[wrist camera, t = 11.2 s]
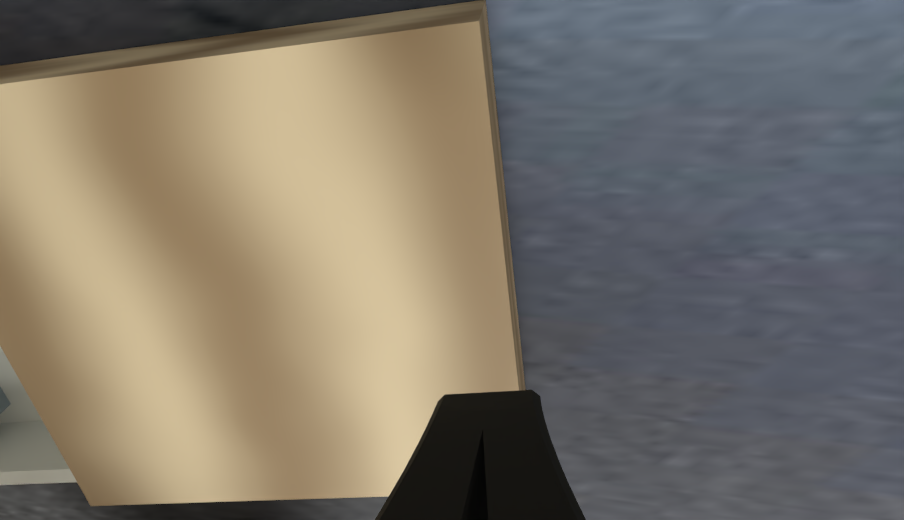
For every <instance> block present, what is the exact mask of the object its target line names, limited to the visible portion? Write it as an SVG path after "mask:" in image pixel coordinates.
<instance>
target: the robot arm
mask: <svg viewBox="0 0 904 520" xmlns="http://www.w3.org/2000/svg"><path fill="white" fill-rule="evenodd" d="M375 520H585V517H584V515H583V513H582V511H581V509H580V507H579V505H578V503H577V501H576V498H575V496H574V494H573V492H572V490H571V488H570V486H569V484H568V481H567V479H566V477H565V474H564V472H563V470H562V467H561V465H560V463H559V460H558V457H557V455H556V452H555V449H554V447H553V444H552V442H551V439H550V436H549V433H548V430H547V426H546V423H545V419H544V415H543V411H542V406H541V399H540V396H539V395H538V394H537V393H535V392H534V391H533V390H519V391H500V392H482V393H463V394H445V395H444V396H443V397H442V398H441V399H440V400H439V401H438V402H437V405H436V407H435V409H434V411H433V414H432V416H431V418H430V420H429V422H428V424H427V427H426V429H425V431H424V433H423V435H422V437H421V439H420V441H419V443H418V445H417V447H416V448H415V450H414V452H413V454H412V456H411V458H410V460H409V462H408V464H407V465H406V467H405V469H404V471H403V473H402V474H401V476H400V478H399V480H398V481H397V483H396V485H395V487H394V488H393V490H392V492H391V493H390V495H389V497H388V499H387V500H386V502H385V504H384V505H383V507H382V509H381V511H380V512H379V514H378V516H377V517H376V519H375Z"/></svg>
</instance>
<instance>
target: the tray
mask: <svg viewBox="0 0 904 520" xmlns="http://www.w3.org/2000/svg"><path fill="white" fill-rule="evenodd" d="M0 387H1V388H2V390H3V392H4V393H5V395H6V397H7V398H8V400H9V402H10V403H11V404H10V405H9V406H8V407H7V408H6V409H5V410H4V411H3V412H2V413H1V414H0V485H15V484H41V483H67V482H77V481H76V479H75V477H74V476H73V474H72V472H71V470H70V469H69V467H68V465H67V463H66V462H65V460H64V458H63V456H62V454H61V453H60V451H59V449H58V447H57V446H56V444H55V442H54V440H53V438H52V437H51V435H50V433H49V431H48V430H47V428H46V426H45V424H44V423H43V421H42V419H41V417H40V415H39V414H38V412H37V410H36V408H35V407H34V405H33V403H32V401H31V400H30V398H29V396H28V394H27V392H26V391H25V389H24V387H23V385H22V384H21V382H20V380H19V378H18V377H17V375H16V373H15V371H14V369H13V368H12V366H11V364H10V362H9V361H8V359H7V357H6V355H5V354H4V352H3V350H2V348H1V346H0Z"/></svg>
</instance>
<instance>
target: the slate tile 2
mask: <svg viewBox="0 0 904 520" xmlns="http://www.w3.org/2000/svg"><path fill="white" fill-rule="evenodd" d="M10 404H11V403H10V402H9V400H8V398H7V397H6V395H5V393H4V392H3V390H2V388H1V387H0V414H1V413H2V412H3V411H4V410H5V409H6V408H7V407H8V406H9V405H10Z"/></svg>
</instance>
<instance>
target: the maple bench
mask: <svg viewBox="0 0 904 520" xmlns="http://www.w3.org/2000/svg"><path fill="white" fill-rule="evenodd" d="M0 346H1V348H2V350H3V352H4V354H5V355H6V357H7V359H8V361H9V362H10V364H11V366H12V368H13V369H14V371H15V373H16V375H17V377H18V378H19V380H20V382H21V384H22V385H23V387H24V389H25V391H26V392H27V394H28V396H29V398H30V400H31V401H32V403H33V405H34V407H35V408H36V410H37V412H38V414H39V415H40V417H41V419H42V421H43V423H44V424H45V426H46V428H47V430H48V431H49V433H50V435H51V437H52V438H53V440H54V442H55V444H56V446H57V447H58V449H59V451H60V453H61V454H62V456H63V458H64V460H65V462H66V463H67V465H68V467H69V469H70V470H71V472H72V474H73V476H74V477H75V479H76V481H77V483H78V485H79V486H80V488H81V490H82V492H83V493H84V495H85V497H86V499H87V500H88V502H89V504H90V506H109V505H139V504H170V503H200V502H231V501H261V500H292V499H322V498H352V497H383V496H389V495H390V493H391V492H392V490H393V488H394V487H395V485H396V483H397V481H398V480H399V478H400V476H401V474H402V473H403V471H404V469H405V467H406V465H407V464H408V462H409V460H410V458H411V456H412V454H413V452H414V450H415V448H416V447H417V445H418V443H419V441H420V439H421V437H422V435H423V433H424V431H425V429H426V427H427V424H428V422H429V420H430V418H431V416H432V414H433V411H434V409H435V407H436V405H437V402H438V401H439V400H440V399H441V398H442V397H443V396H444V395H445V394H463V393H482V392H500V391H519V390H525V381H524V372H523V362H522V352H521V342H520V332H519V323H518V313H517V303H516V293H515V283H514V274H513V264H512V254H511V244H510V234H509V224H508V215H507V205H506V195H505V185H504V175H503V166H502V156H501V146H500V136H499V126H498V117H497V107H496V97H495V87H494V77H493V67H492V58H491V48H490V38H489V28H488V18H487V9H486V0H479V1H471V2H464V3H457V4H449V5H442V6H435V7H427V8H420V9H413V10H405V11H398V12H391V13H383V14H376V15H369V16H362V17H354V18H347V19H340V20H332V21H325V22H318V23H310V24H303V25H296V26H288V27H281V28H274V29H266V30H259V31H252V32H244V33H237V34H230V35H222V36H215V37H208V38H200V39H193V40H186V41H178V42H171V43H164V44H156V45H149V46H142V47H134V48H127V49H120V50H113V51H105V52H98V53H91V54H83V55H76V56H69V57H61V58H54V59H47V60H39V61H32V62H25V63H17V64H10V65H3V66H0Z"/></svg>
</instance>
